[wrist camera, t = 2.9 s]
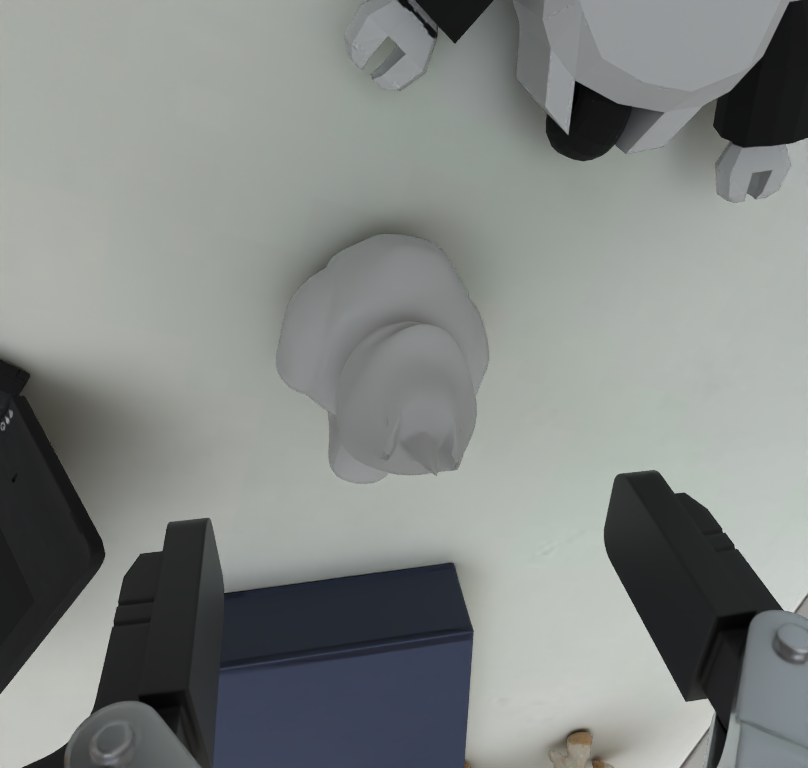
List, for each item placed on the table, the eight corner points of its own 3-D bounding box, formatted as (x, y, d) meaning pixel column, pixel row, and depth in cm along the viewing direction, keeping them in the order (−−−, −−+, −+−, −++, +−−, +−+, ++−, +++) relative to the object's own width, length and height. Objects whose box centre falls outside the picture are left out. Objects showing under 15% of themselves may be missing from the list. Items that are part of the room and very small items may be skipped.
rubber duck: (496, 232, 19) (614, 394, 13) (425, 422, 23) (490, 629, 16) (302, 186, 18) (324, 344, 11) (256, 397, 21) (252, 615, 15)
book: (168, 601, 25) (157, 678, 23) (453, 563, 27) (473, 631, 24) (228, 803, 33) (225, 876, 31) (445, 765, 35) (459, 833, 32)
